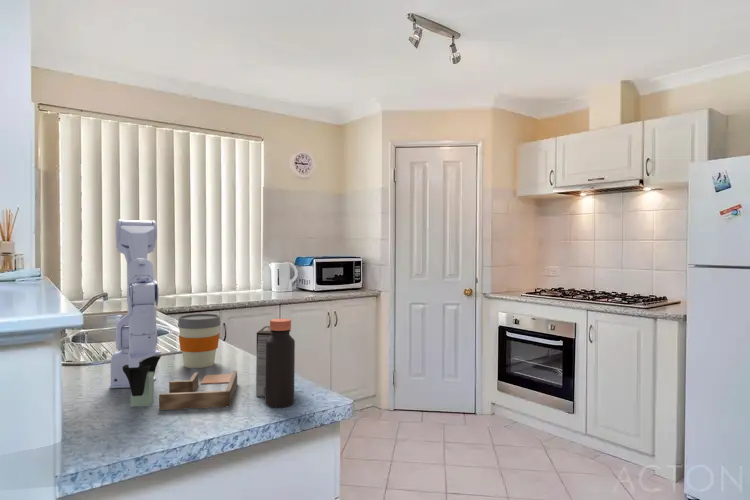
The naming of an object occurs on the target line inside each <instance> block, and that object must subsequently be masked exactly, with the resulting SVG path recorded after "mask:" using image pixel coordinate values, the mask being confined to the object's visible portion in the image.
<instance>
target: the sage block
mask: <svg viewBox="0 0 750 500" xmlns="http://www.w3.org/2000/svg"><path fill="white" fill-rule="evenodd" d="M154 377H155V373H154V372H148V373H147V376H146V381H145V388H144V393H143V395H142V396H132V392H131V391H130V408H133V407H149V406H150V405H152V403H153V402H154V400H155V399H154V397H155V395H154V394H155V393H154V392H155V387H154V386H155V383H154V381H155V380H154Z"/></svg>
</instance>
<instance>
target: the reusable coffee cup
mask: <svg viewBox="0 0 750 500" xmlns="http://www.w3.org/2000/svg"><path fill="white" fill-rule="evenodd" d="M220 316H221V315H219V314H217V313H191V314H184V315H183V314H182V315H180V316H179V317H178V319H177V320H178V321H177V327H178V331H179V335H178V341H179V343H178V344H179V349H180V351H181V353H182V354H181V355H182V362H183V366H184V367H185V368H188V369H201V368H202V369H203V368H207V367H212V366H213V365H215V361H216V352H217V350H218V347H219V342H220V335H221V334H220V332H219V331H220V326H221V317H220Z"/></svg>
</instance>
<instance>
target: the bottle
mask: <svg viewBox="0 0 750 500" xmlns="http://www.w3.org/2000/svg"><path fill="white" fill-rule="evenodd" d="M269 326H270V332H271V336H270V337H269V338H268V339H267V341H266V387H265V396H264V397H265V398H264V399H265V405H266V406H268V407H271V408H275V409H276V408H279V409H280V408H286V407H287V408H288V407H290V406H292V405H293V404H294V402H295V368H296V367H295V366H296V365H295V362H296V361H295V359H296V358H295V357H296V356H295V347H296V346H295V345H296V344H295V343H296V341H295V339H294V338H293V337H292V336H291V335H290V332H291V331H292V330H291V329H292V320H291V318H272V319H270V320H269Z"/></svg>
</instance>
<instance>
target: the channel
mask: <svg viewBox="0 0 750 500" xmlns="http://www.w3.org/2000/svg"><path fill="white" fill-rule="evenodd" d="M231 374H232V376H231V378H230V381H229V383H227V386H226V389H225V390H212V391H211V390H210V391H196V390H197V388H198V387H199V372H198V371H197V372H196V371H195V372H194V373H193V374H192V375H191V377H190V378H189V380H186V379H185V380H170V381H168V384H169V385H168V386H169V387H168V391H169V392H165V393H163V392H161V393H158V394H159V395H158V410H159V411H167V410H168V411H169V410H170V411H171V410H184V408H191V409H206V408H208V407H211V408H227V407H226V406H229V407H231V404H232V400H233V397H234V395H235V391H236V388H237V385H238V370H233V371H232V373H231Z"/></svg>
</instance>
